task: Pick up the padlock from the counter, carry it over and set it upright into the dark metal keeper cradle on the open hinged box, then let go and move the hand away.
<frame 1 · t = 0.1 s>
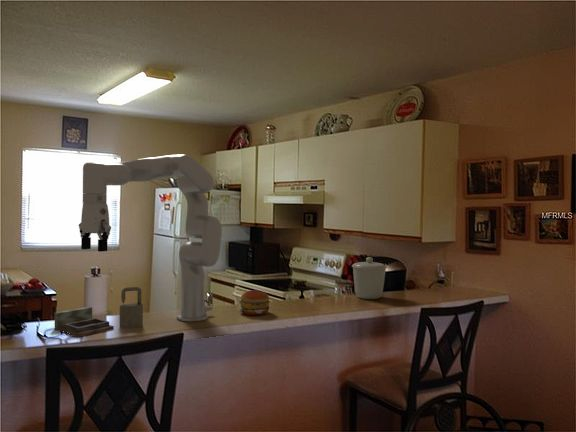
hand: (94, 250, 167), 31 cm above the countertop, tool pointing down, fingers open, 9 cm apart
padlock: (131, 326, 190), on the countertop
open hinged box: (84, 329, 184), on the countertop
canister: (368, 298, 257), on the countertop
burger: (254, 313, 216), on the countertop
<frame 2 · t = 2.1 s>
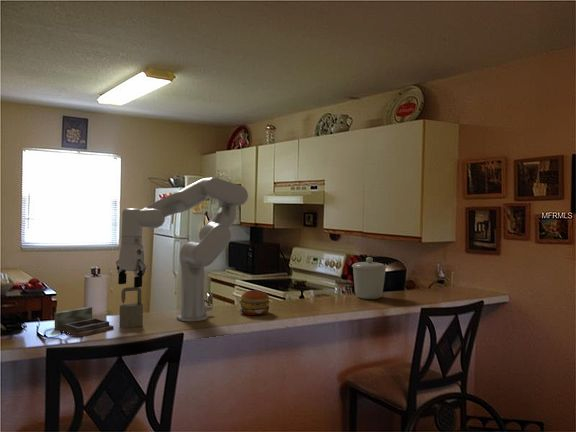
hand: (130, 285, 189), 16 cm above the countertop, tool pointing down, fingers open, 9 cm apart
nothing on the countertop moved.
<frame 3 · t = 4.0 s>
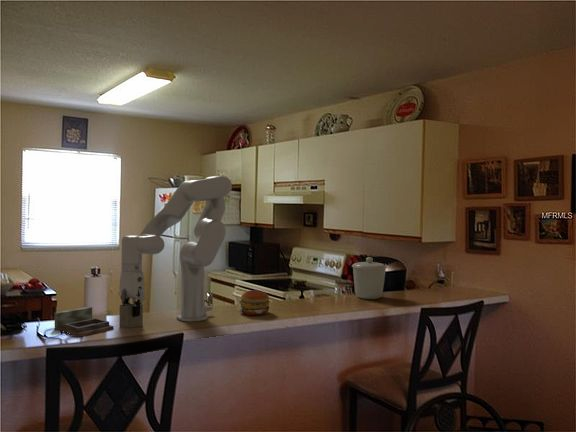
hand: (131, 314, 190), 4 cm above the countertop, tool pointing down, fingers closed on padlock, 5 cm apart
padlock: (131, 326, 190), on the countertop, touching gripper
everything else where it was.
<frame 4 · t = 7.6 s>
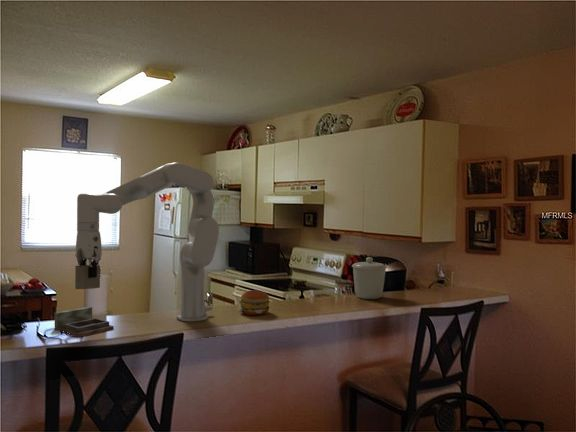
hand: (87, 276, 182), 20 cm above the countertop, tool pointing down, fingers closed on padlock, 5 cm apart
padlock: (87, 288, 182), point 15 cm above the countertop, touching gripper
everything else where it was.
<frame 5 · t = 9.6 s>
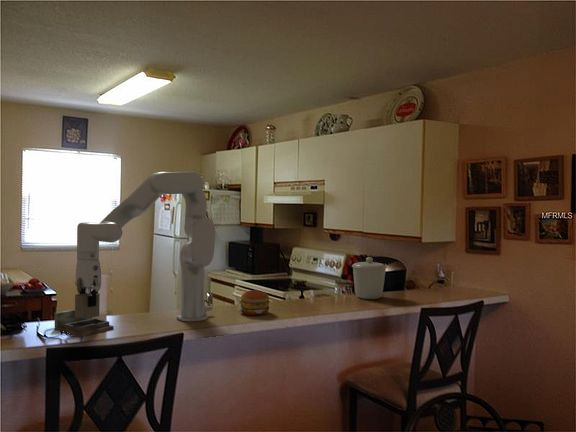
hand: (87, 304, 182), 9 cm above the countertop, tool pointing down, fingers closed on padlock, 5 cm apart
padlock: (87, 317, 182), point 5 cm above the countertop, touching gripper
everything else where it was.
when the fingers open (6 cm above the countertop, at t = 11.3 s): padlock stays where it is, resting on open hinged box.
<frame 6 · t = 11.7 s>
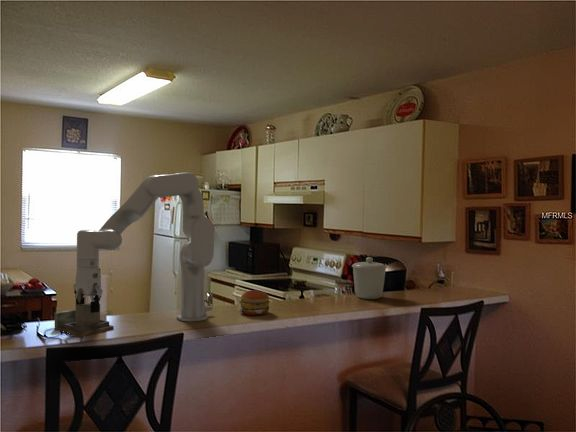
hand: (87, 310, 182), 7 cm above the countertop, tool pointing down, fingers open, 9 cm apart
padlock: (87, 327, 183), point 1 cm above the countertop, touching open hinged box
everything else where it was.
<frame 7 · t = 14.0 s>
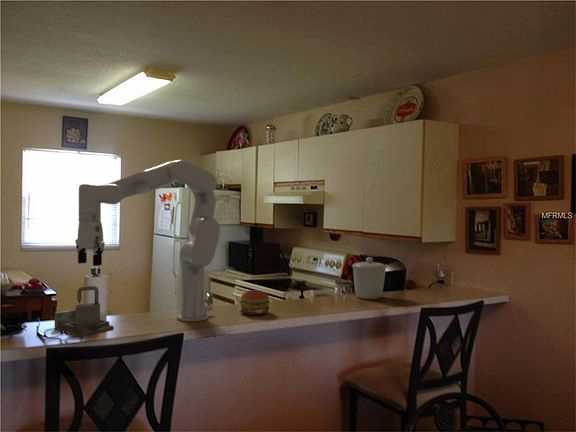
hand: (89, 264, 182), 24 cm above the countertop, tool pointing down, fingers open, 9 cm apart
nothing on the countertop moved.
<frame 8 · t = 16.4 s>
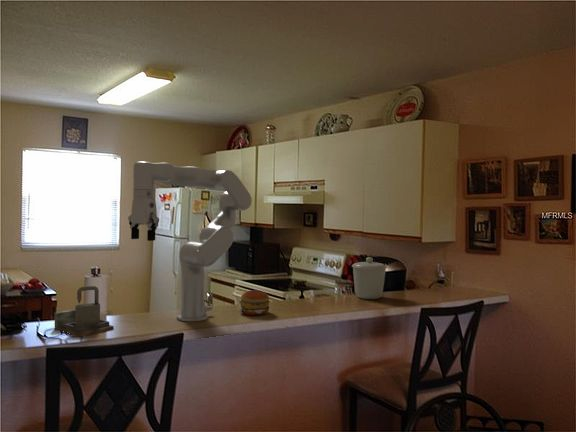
hand: (143, 239, 188), 33 cm above the countertop, tool pointing down, fingers open, 9 cm apart
nothing on the countertop moved.
at the end: padlock 0.1 cm from the target spot on the open hinged box, point 1.0 cm above the open hinged box's base; padlock tilted 0°; the gripper is holding nothing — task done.
